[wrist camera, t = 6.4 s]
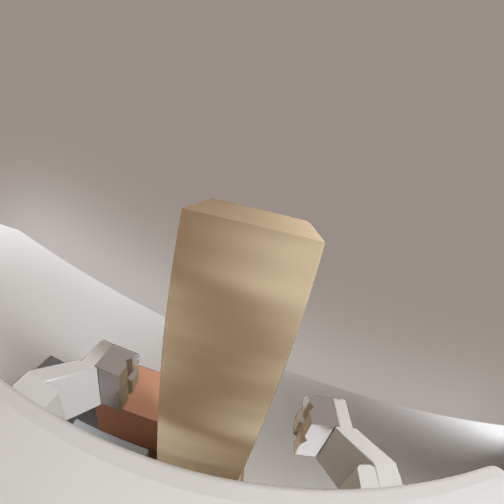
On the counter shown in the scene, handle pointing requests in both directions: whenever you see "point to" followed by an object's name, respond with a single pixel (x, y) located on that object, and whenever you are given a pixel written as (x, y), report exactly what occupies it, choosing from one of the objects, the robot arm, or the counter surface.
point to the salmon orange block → (135, 412)
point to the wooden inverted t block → (229, 330)
